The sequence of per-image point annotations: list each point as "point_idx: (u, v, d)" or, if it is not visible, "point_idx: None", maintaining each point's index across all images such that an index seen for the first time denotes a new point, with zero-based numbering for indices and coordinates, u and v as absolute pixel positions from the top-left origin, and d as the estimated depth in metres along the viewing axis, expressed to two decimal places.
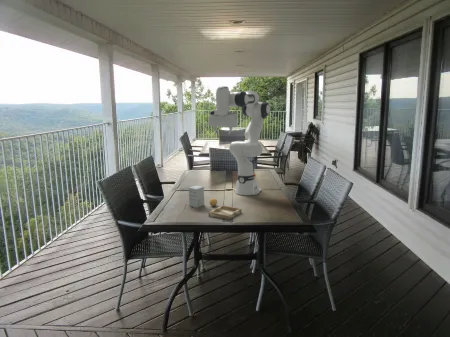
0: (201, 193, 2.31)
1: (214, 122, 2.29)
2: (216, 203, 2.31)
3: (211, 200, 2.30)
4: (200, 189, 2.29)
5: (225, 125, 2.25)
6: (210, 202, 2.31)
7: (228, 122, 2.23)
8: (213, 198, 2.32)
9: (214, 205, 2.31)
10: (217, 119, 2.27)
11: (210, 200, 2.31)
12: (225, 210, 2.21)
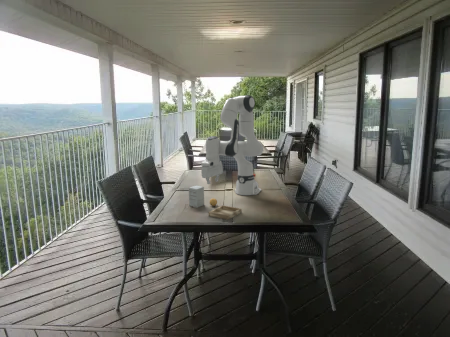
0: (201, 193, 2.31)
1: (210, 173, 2.23)
2: (216, 203, 2.31)
3: (211, 200, 2.30)
4: (200, 189, 2.29)
5: (217, 173, 2.30)
6: (210, 202, 2.31)
7: (219, 170, 2.31)
8: (213, 198, 2.32)
9: (214, 205, 2.31)
10: (212, 169, 2.24)
11: (210, 200, 2.31)
12: (225, 210, 2.21)
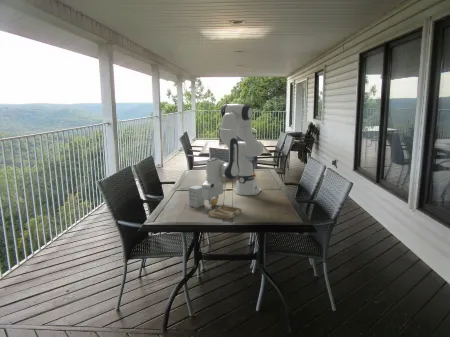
0: (201, 193, 2.31)
1: (211, 194, 2.26)
2: (216, 203, 2.31)
3: (211, 200, 2.30)
4: (200, 189, 2.29)
5: (218, 194, 2.33)
6: None
7: (219, 190, 2.34)
8: (213, 198, 2.32)
9: (214, 205, 2.31)
10: (212, 190, 2.27)
11: None
12: (225, 210, 2.21)
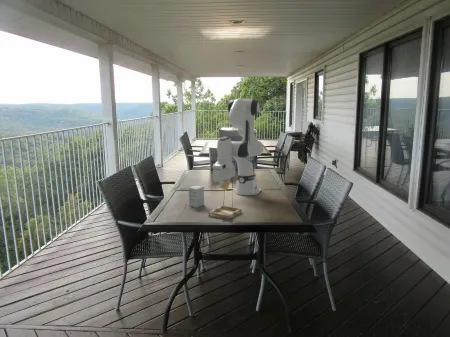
0: (201, 193, 2.31)
1: (222, 176, 2.05)
2: (228, 186, 2.10)
3: None
4: (200, 189, 2.29)
5: (229, 177, 2.12)
6: None
7: (231, 173, 2.14)
8: (224, 181, 2.11)
9: (225, 189, 2.11)
10: (224, 172, 2.07)
11: None
12: (225, 210, 2.21)
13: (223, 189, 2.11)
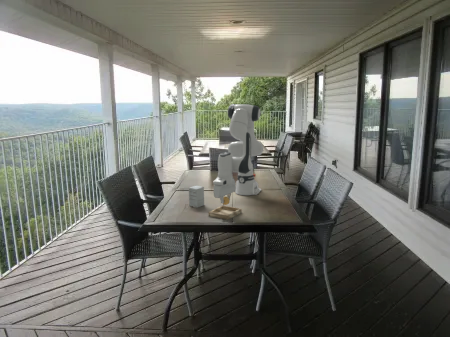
0: (201, 193, 2.31)
1: (223, 192, 2.07)
2: (228, 202, 2.12)
3: (223, 198, 2.11)
4: (200, 189, 2.29)
5: (230, 192, 2.14)
6: None
7: (232, 188, 2.15)
8: None
9: (226, 204, 2.12)
10: (224, 188, 2.08)
11: None
12: (225, 210, 2.21)
13: (224, 204, 2.13)
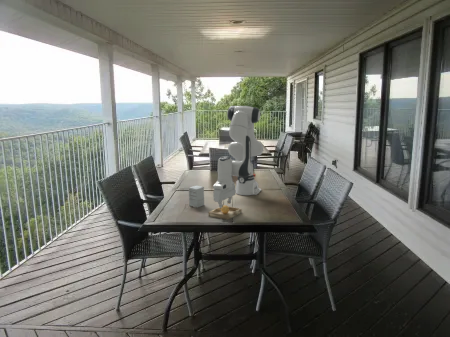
0: (201, 193, 2.31)
1: (223, 196, 2.07)
2: (228, 210, 2.13)
3: (223, 207, 2.13)
4: (200, 189, 2.29)
5: (230, 196, 2.15)
6: (222, 209, 2.13)
7: (232, 192, 2.16)
8: (225, 205, 2.14)
9: None
10: (224, 192, 2.09)
11: (222, 207, 2.13)
12: None
13: None
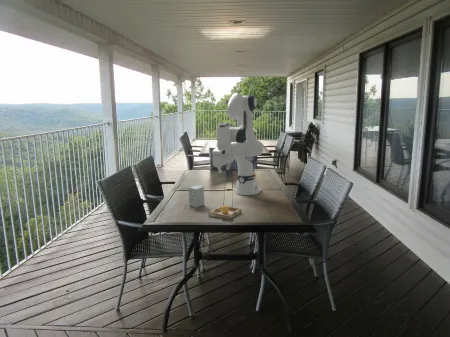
0: (201, 193, 2.31)
1: (222, 162, 2.13)
2: (228, 210, 2.13)
3: (223, 207, 2.13)
4: (200, 189, 2.29)
5: (228, 162, 2.20)
6: (222, 210, 2.13)
7: (230, 158, 2.22)
8: (225, 205, 2.14)
9: None
10: (223, 158, 2.15)
11: (222, 207, 2.13)
12: None
13: (224, 213, 2.14)
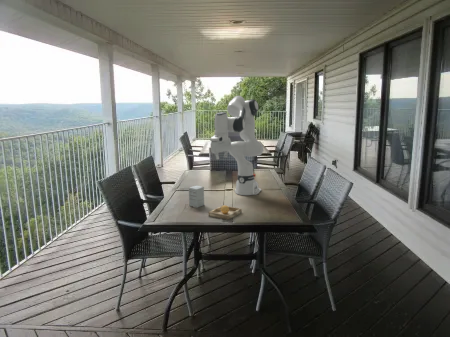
0: (201, 193, 2.31)
1: (219, 148, 2.23)
2: (228, 210, 2.13)
3: (222, 208, 2.13)
4: (200, 189, 2.29)
5: (226, 149, 2.31)
6: (222, 210, 2.13)
7: (228, 146, 2.32)
8: (225, 205, 2.14)
9: None
10: (221, 145, 2.25)
11: (221, 208, 2.13)
12: None
13: (224, 213, 2.14)
